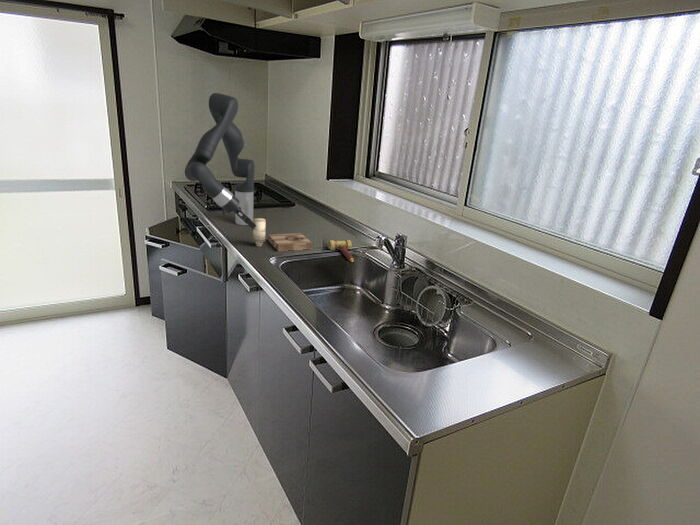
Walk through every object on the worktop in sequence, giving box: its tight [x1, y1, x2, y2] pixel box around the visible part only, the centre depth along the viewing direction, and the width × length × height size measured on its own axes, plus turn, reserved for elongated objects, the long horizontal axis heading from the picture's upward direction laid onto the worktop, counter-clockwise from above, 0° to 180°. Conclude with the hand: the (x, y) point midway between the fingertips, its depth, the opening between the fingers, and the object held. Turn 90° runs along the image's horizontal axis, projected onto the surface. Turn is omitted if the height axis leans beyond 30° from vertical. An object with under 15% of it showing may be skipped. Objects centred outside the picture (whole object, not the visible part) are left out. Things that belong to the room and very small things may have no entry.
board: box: [267, 232, 313, 252], centre depth 207 cm, size 16×16×3 cm
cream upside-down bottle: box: [252, 217, 267, 247], centre depth 201 cm, size 6×6×12 cm
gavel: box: [327, 239, 355, 263], centre depth 200 cm, size 21×5×10 cm
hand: (252, 224), depth 198 cm, fingers open, 8 cm apart
